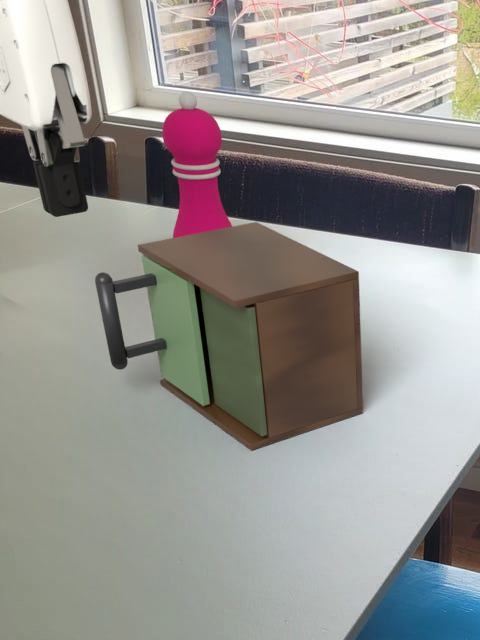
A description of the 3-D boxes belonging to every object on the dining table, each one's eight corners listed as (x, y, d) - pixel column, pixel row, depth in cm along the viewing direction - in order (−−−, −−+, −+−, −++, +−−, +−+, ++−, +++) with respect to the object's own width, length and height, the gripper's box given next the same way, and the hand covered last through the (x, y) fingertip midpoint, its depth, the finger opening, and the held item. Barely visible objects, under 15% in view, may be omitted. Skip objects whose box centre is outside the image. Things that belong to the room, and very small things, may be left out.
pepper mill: (203, 302, 110) (177, 102, 98) (165, 284, 114) (135, 89, 101) (255, 287, 115) (237, 93, 102) (218, 271, 118) (195, 81, 106)
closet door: (149, 422, 86) (127, 294, 79) (109, 390, 91) (83, 266, 84) (210, 404, 90) (193, 279, 82) (168, 374, 94) (148, 253, 87)
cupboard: (251, 450, 85) (234, 301, 77) (160, 385, 94) (137, 244, 86) (363, 413, 92) (359, 271, 83) (268, 355, 100) (256, 221, 92)
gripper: (-81, -58, 75) (-12, 198, 87) (-3, -38, 66) (62, 243, 78) (18, -61, 79) (71, 184, 90) (103, -42, 70) (149, 226, 82)
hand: (66, 211), depth 84 cm, fingers closed
